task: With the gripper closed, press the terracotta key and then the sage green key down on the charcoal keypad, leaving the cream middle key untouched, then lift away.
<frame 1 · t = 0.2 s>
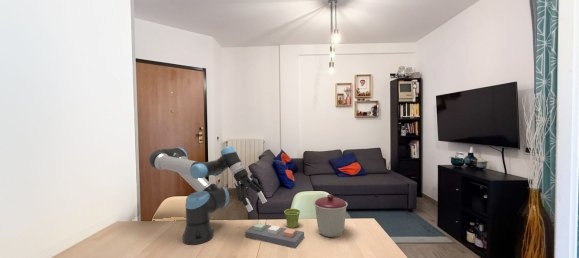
hand: (258, 206, 125), 16 cm above the table, tool tilted 35°, fingers open, 13 cm apart
canister: (330, 233, 129), on the table
cream key: (274, 230, 125), point 4 cm above the table, slide at 0.0 cm
keypad: (274, 237, 125), on the table
plant pot: (292, 226, 139), on the table
terracotta key: (289, 233, 121), point 4 cm above the table, slide at 0.0 cm
sage key: (259, 227, 129), point 4 cm above the table, slide at 0.0 cm
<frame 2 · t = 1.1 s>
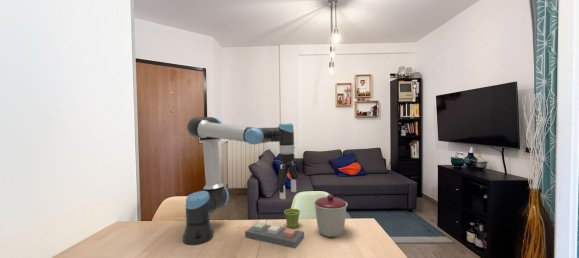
hand: (288, 195, 121), 23 cm above the table, tool pointing down, fingers open, 12 cm apart
nothing on the table moved.
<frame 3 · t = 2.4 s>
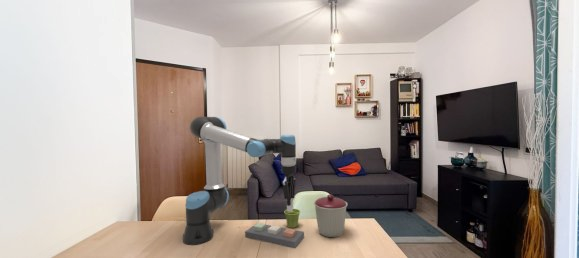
hand: (290, 211, 121), 15 cm above the table, tool pointing down, fingers closed
nothing on the table moved.
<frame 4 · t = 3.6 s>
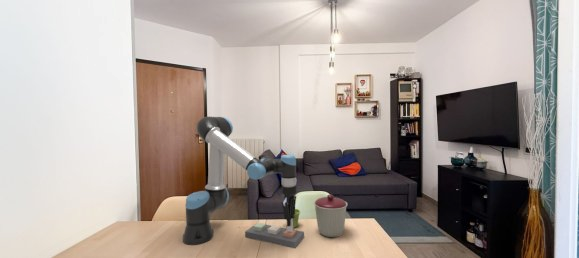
hand: (290, 231, 121), 5 cm above the table, tool pointing down, fingers closed
terracotta key: (289, 234, 121), point 3 cm above the table, slide at 0.5 cm, touching gripper
everything else where it was.
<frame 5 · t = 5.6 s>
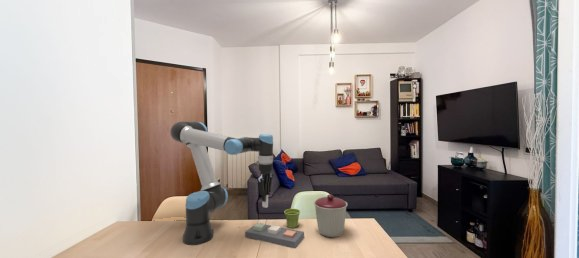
hand: (265, 206, 127), 16 cm above the table, tool pointing down, fingers closed
terracotta key: (289, 235, 121), point 3 cm above the table, slide at 1.0 cm
everything else where it was.
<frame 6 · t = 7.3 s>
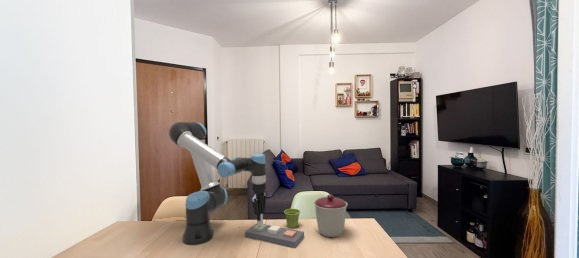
hand: (260, 225, 129), 5 cm above the table, tool pointing down, fingers closed
sage key: (259, 228, 129), point 3 cm above the table, slide at 0.7 cm, touching gripper
everything else where it was.
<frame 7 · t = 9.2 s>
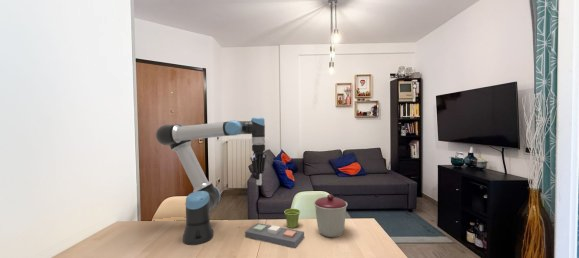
hand: (259, 184, 137), 25 cm above the table, tool pointing down, fingers closed
sage key: (259, 229, 129), point 3 cm above the table, slide at 1.0 cm
everything else where it was.
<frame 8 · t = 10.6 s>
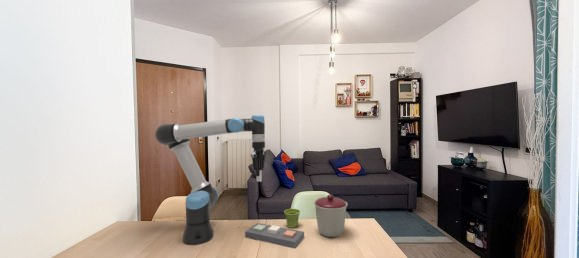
hand: (259, 181, 140), 26 cm above the table, tool pointing down, fingers closed
nothing on the table moved.
at the end: terracotta key slide at 1.0 cm; sage key slide at 1.0 cm; cream key slide at 0.0 cm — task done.
